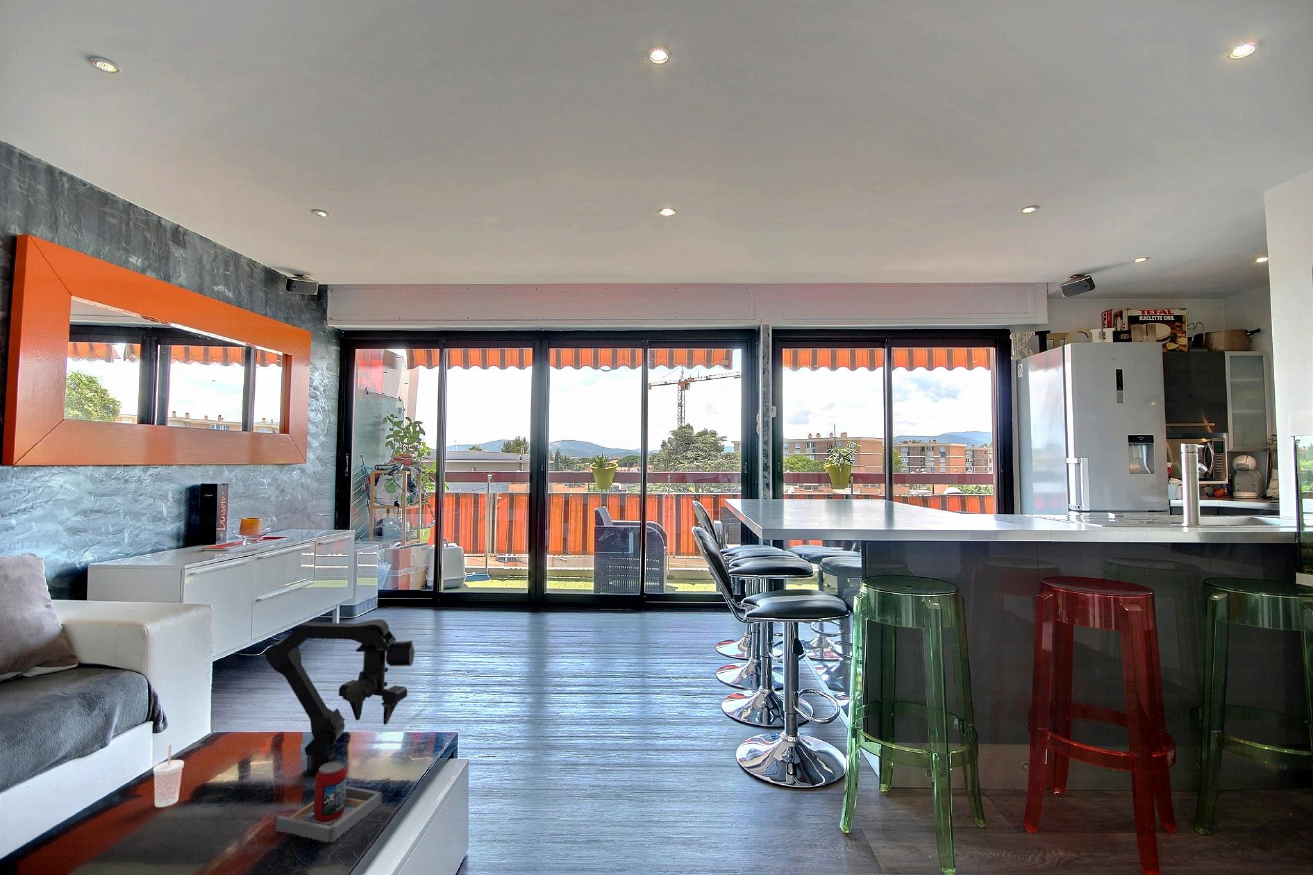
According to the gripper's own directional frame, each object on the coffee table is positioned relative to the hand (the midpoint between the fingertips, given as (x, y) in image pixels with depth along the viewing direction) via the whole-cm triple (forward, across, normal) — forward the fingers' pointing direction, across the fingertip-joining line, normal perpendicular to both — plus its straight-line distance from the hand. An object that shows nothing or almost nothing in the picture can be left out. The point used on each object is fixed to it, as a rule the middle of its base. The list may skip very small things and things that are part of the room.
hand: (371, 722), depth 174 cm
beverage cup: (+13, -36, -29) cm, 48 cm away
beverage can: (+13, +7, -22) cm, 27 cm away
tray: (+14, +6, -22) cm, 27 cm away
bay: (+13, +7, -22) cm, 27 cm away
